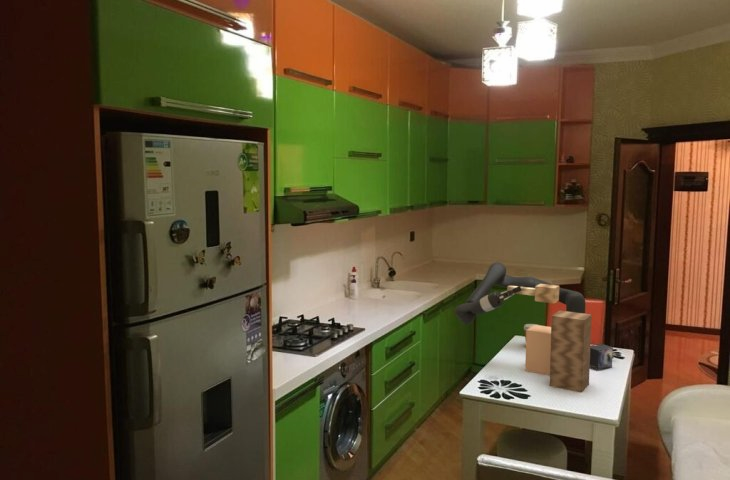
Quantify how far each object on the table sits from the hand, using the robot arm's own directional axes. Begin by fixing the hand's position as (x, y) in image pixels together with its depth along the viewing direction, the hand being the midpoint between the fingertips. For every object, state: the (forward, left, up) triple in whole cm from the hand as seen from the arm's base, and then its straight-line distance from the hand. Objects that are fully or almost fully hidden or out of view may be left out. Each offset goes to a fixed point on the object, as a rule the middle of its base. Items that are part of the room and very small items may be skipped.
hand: (521, 287), depth 273 cm
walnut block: (-15, +22, -41) cm, 48 cm away
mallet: (-4, +3, -5) cm, 7 cm away
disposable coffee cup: (-20, -35, -41) cm, 57 cm away
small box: (-40, +1, -41) cm, 57 cm away
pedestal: (-11, +1, -41) cm, 42 cm away
